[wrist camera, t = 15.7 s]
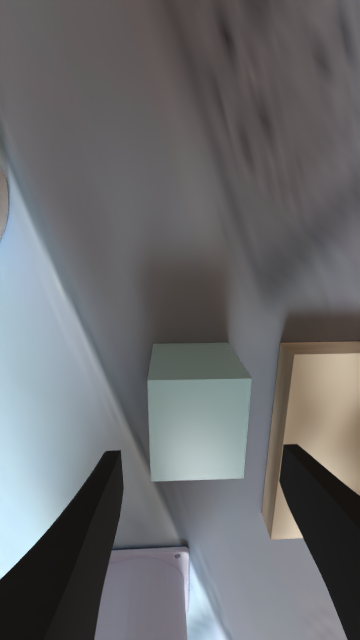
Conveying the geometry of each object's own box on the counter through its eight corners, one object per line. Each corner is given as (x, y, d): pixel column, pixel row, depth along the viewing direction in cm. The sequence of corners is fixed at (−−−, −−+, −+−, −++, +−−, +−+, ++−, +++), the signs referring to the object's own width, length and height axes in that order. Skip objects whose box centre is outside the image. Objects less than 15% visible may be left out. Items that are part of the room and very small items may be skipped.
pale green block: (155, 421, 18) (150, 481, 14) (153, 343, 17) (147, 380, 12) (223, 419, 19) (243, 478, 14) (228, 342, 17) (251, 378, 12)
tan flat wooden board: (261, 513, 21) (270, 539, 19) (280, 342, 17) (294, 354, 15) (401, 506, 22) (423, 531, 20) (451, 339, 18) (485, 350, 16)
